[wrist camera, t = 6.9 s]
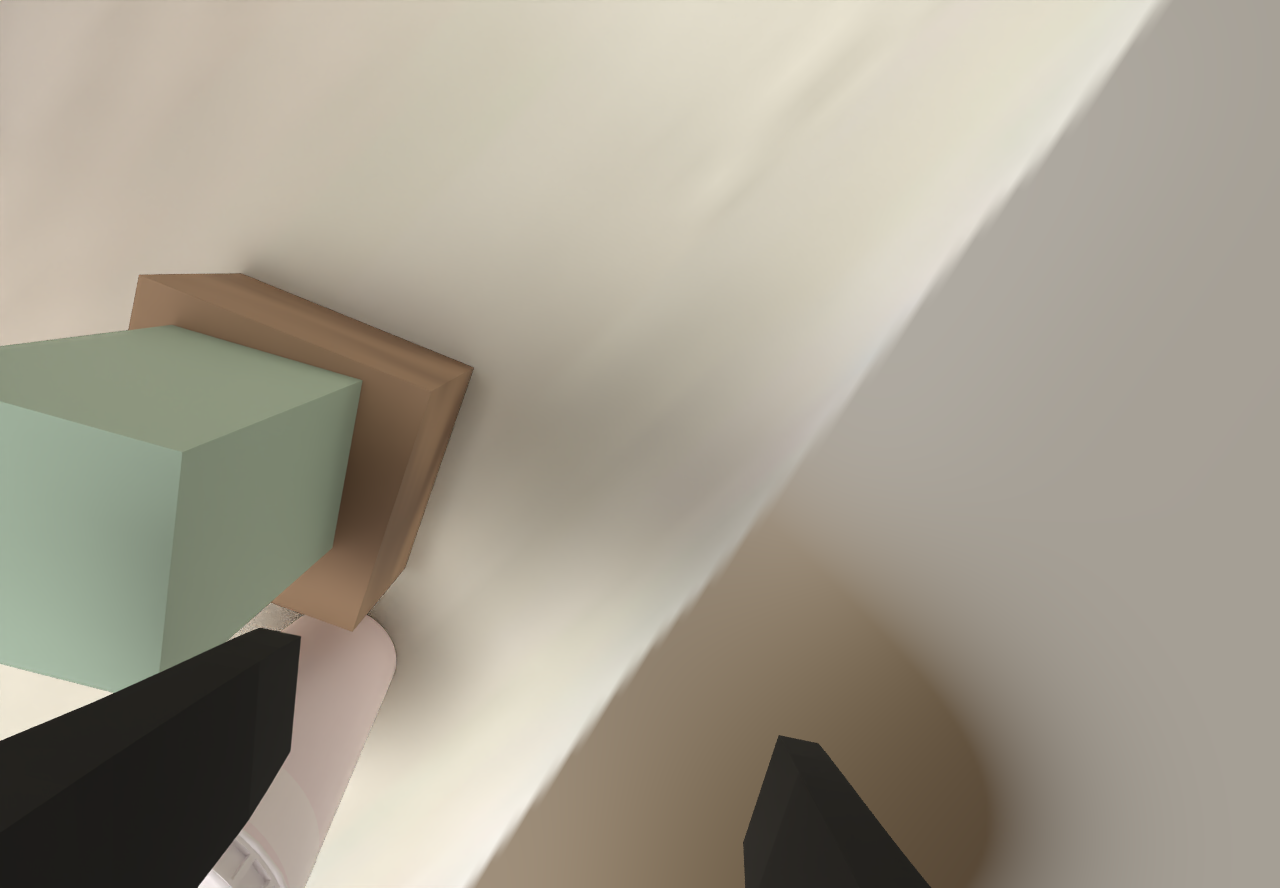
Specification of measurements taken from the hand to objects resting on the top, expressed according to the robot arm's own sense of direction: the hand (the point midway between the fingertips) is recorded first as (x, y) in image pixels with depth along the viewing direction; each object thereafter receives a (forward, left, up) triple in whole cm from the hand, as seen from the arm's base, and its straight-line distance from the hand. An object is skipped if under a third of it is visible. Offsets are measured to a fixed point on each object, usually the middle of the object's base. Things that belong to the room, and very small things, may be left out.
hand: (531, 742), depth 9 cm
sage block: (-1, -8, -7) cm, 11 cm away
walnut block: (0, -8, -11) cm, 14 cm away
